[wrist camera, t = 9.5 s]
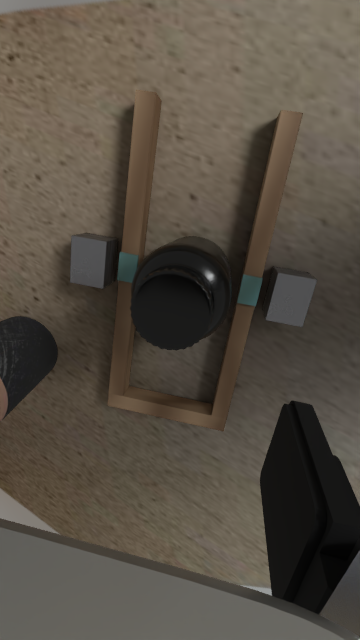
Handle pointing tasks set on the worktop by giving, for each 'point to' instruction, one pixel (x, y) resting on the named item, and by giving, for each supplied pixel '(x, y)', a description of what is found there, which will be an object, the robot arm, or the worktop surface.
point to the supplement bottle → (181, 293)
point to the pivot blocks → (280, 301)
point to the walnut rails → (134, 252)
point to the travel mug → (23, 359)
